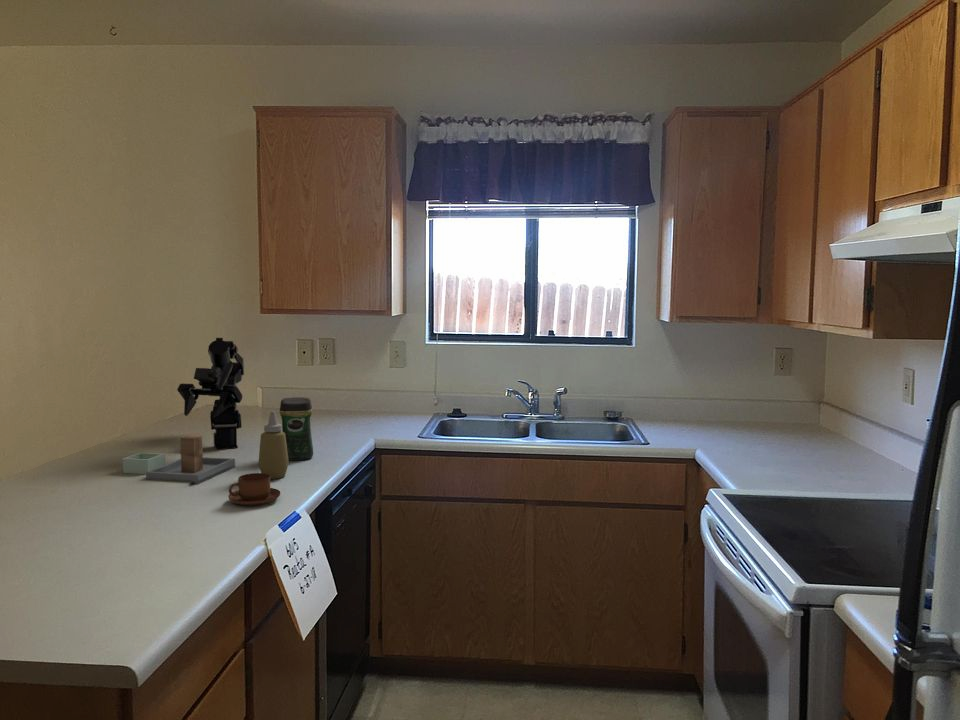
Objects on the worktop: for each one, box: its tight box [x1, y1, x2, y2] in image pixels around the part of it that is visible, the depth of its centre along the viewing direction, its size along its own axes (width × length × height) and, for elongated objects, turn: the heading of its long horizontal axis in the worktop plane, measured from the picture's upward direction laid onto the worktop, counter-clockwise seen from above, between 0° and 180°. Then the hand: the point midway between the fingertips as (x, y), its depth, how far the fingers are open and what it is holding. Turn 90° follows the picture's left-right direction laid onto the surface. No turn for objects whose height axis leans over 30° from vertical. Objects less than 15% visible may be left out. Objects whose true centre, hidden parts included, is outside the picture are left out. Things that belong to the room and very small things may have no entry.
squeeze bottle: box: [257, 410, 290, 480], centre depth 196 cm, size 8×8×18 cm
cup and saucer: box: [228, 472, 281, 506], centre depth 174 cm, size 12×12×6 cm
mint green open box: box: [122, 452, 166, 475], centre depth 200 cm, size 8×8×4 cm
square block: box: [180, 434, 204, 473], centre depth 199 cm, size 4×4×10 cm
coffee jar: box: [279, 396, 314, 461], centre depth 218 cm, size 10×8×19 cm
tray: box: [145, 456, 236, 485], centre depth 199 cm, size 19×15×2 cm
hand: (199, 415), depth 213 cm, fingers open, 9 cm apart
